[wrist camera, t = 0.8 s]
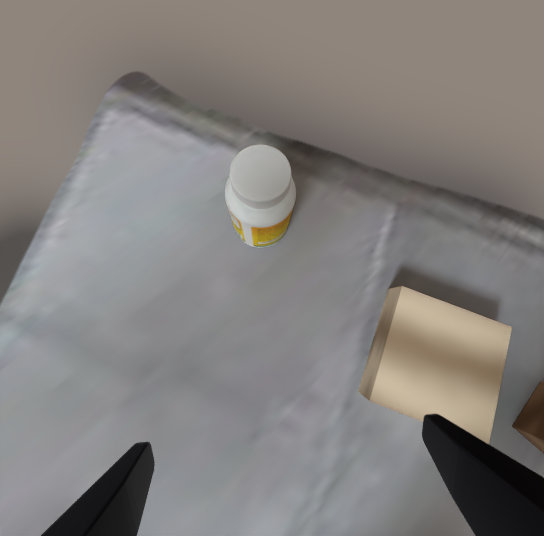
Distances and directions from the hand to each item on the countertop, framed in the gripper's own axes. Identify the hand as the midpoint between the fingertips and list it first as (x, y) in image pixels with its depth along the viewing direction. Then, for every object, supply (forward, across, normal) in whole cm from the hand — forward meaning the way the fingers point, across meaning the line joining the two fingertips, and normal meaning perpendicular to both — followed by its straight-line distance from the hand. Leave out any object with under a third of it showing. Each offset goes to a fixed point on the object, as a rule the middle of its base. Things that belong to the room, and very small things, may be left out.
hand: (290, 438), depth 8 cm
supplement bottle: (+20, 0, -6) cm, 20 cm away
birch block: (+14, -14, +8) cm, 21 cm away
